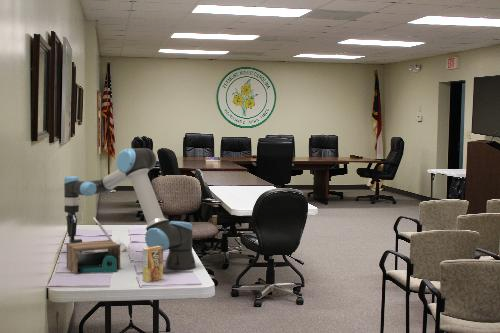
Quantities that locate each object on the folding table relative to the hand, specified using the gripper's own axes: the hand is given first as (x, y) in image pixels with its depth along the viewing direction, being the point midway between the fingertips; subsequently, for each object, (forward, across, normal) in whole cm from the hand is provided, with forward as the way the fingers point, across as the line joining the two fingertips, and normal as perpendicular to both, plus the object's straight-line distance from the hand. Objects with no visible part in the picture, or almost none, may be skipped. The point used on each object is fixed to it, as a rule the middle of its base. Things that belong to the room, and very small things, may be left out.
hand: (71, 247), depth 352 cm
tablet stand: (+4, +8, -23) cm, 25 cm away
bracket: (+4, -43, -1) cm, 44 cm away
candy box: (+4, -73, -17) cm, 75 cm away
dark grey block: (+3, -20, 0) cm, 20 cm away
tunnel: (+4, -38, 0) cm, 38 cm away
